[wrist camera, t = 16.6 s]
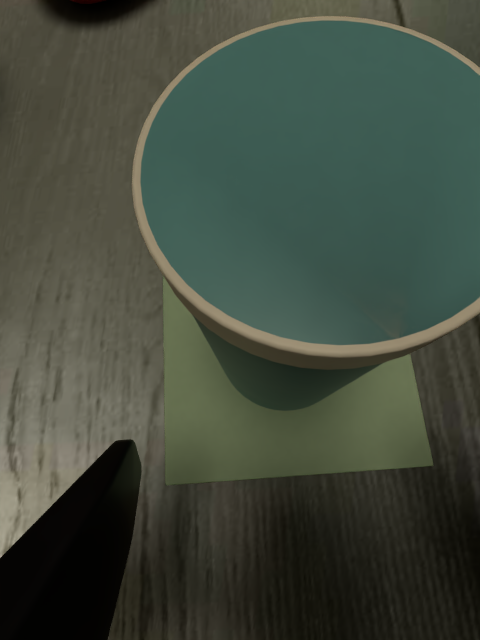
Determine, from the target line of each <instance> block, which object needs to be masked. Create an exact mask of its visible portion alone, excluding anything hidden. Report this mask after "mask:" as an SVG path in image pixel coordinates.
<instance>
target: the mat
mask: <svg viewBox="0 0 480 640" xmlns="http://www.w3.org/2000/svg"><path fill="white" fill-rule="evenodd" d="M163 336H164V416H165V485H180V484H193V483H207V482H221V481H234V480H248V479H262V478H275V477H289V476H303V475H316V474H330V473H344V472H357V471H371V470H385V469H398V468H412V467H426V466H433V460H432V456H431V451H430V446H429V441H428V437H427V432H426V427H425V422H424V418H423V413H422V408H421V404H420V399H419V394H418V389H417V385H416V380H415V375H414V371H413V366H412V361H411V356H410V354H408V355H406V356H403V357H400V358H397V359H394V360H390V361H387V362H384V363H383V364H381V365H379V366H378V367H376V368H374V369H373V370H371V371H369V372H368V373H366V374H364V375H363V376H361V377H359V378H358V379H356V380H354V381H353V382H351V383H349V384H347V385H346V386H344V387H342V388H341V389H339V390H337V391H336V392H334V393H332V394H331V395H329V396H327V397H326V398H324V399H322V400H321V401H319V402H317V403H315V404H313V405H311V406H308V407H305V408H302V409H298V410H290V411H281V410H273V409H269V408H265V407H262V406H260V405H257V404H255V403H253V402H252V401H250V400H248V399H247V398H246V397H244V396H243V395H242V394H241V393H240V392H239V391H237V390H236V388H235V387H234V386H233V385H232V384H231V382H230V380H229V379H228V377H227V376H226V374H225V372H224V370H223V368H222V367H221V365H220V363H219V361H218V360H217V358H216V356H215V354H214V352H213V351H212V349H211V347H210V345H209V344H208V342H207V340H206V338H205V336H204V335H203V333H202V331H201V329H200V328H199V326H198V324H197V322H196V320H195V319H194V317H193V315H192V314H191V313H190V312H189V311H188V309H187V308H186V307H185V306H184V305H183V304H182V302H181V301H180V300H179V299H178V298H177V296H176V295H175V294H174V292H173V290H172V289H171V287H170V286H169V284H168V282H167V281H166V279H165V278H164V276H163Z"/></svg>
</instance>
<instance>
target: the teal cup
mask: <svg viewBox="0 0 480 640" xmlns="http://www.w3.org/2000/svg"><path fill="white" fill-rule="evenodd" d="M132 194H133V203H134V210H135V214H136V218H137V222H138V226H139V230H140V232H141V235H142V237H143V239H144V242H145V244H146V246H147V248H148V251H149V253H150V254H151V256H152V258H153V259H154V261H155V263H156V264H157V266H158V268H159V269H160V271H161V273H162V274H163V276H164V278H165V279H166V281H167V282H168V284H169V286H170V287H171V289H172V290H173V292H174V294H175V295H176V296H177V298H178V299H179V300H180V301H181V302H182V304H183V305H184V306H185V307H186V308H187V309H188V311H189V312H190V313H191V314H192V315H193V317H194V319H195V320H196V322H197V324H198V326H199V328H200V329H201V331H202V333H203V335H204V336H205V338H206V340H207V342H208V344H209V345H210V347H211V349H212V351H213V352H214V354H215V356H216V358H217V360H218V361H219V363H220V365H221V367H222V368H223V370H224V372H225V374H226V376H227V377H228V379H229V380H230V382H231V384H232V385H233V386H234V387H235V388H236V390H237V391H239V392H240V393H241V394H242V395H243V396H244V397H246V398H247V399H248V400H250V401H252V402H253V403H255V404H257V405H260V406H262V407H265V408H269V409H273V410H281V411H290V410H298V409H302V408H305V407H308V406H311V405H313V404H315V403H317V402H319V401H321V400H322V399H324V398H326V397H327V396H329V395H331V394H332V393H334V392H336V391H337V390H339V389H341V388H342V387H344V386H346V385H347V384H349V383H351V382H353V381H354V380H356V379H358V378H359V377H361V376H363V375H364V374H366V373H368V372H369V371H371V370H373V369H374V368H376V367H378V366H379V365H381V364H383V363H384V362H387V361H390V360H394V359H397V358H400V357H403V356H406V355H408V354H410V353H412V352H414V351H416V350H418V349H420V348H422V347H424V346H426V345H428V344H430V343H432V342H434V341H436V340H437V339H439V338H441V337H443V336H445V335H447V334H448V333H450V332H452V331H454V330H456V329H457V328H459V327H460V326H462V325H463V324H465V323H466V322H468V321H469V320H471V319H472V318H474V317H475V316H476V315H478V314H479V313H480V68H479V67H478V66H477V65H476V64H474V63H473V62H472V61H470V60H469V59H467V58H466V57H464V56H463V55H461V54H460V53H458V52H457V51H456V50H454V49H452V48H450V47H448V46H446V45H445V44H443V43H441V42H439V41H437V40H435V39H433V38H431V37H428V36H426V35H424V34H421V33H419V32H416V31H414V30H411V29H408V28H404V27H401V26H398V25H394V24H391V23H386V22H381V21H376V20H371V19H365V18H355V17H345V16H318V17H306V18H297V19H291V20H286V21H280V22H275V23H272V24H268V25H265V26H261V27H258V28H254V29H252V30H249V31H247V32H244V33H242V34H239V35H236V36H234V37H232V38H230V39H228V40H226V41H224V42H222V43H221V44H219V45H217V46H215V47H213V48H212V49H210V50H209V51H207V52H206V53H204V54H203V55H201V56H200V57H198V58H197V59H196V60H195V61H193V62H192V63H191V64H190V65H189V66H187V67H186V68H185V69H184V70H183V71H181V72H180V73H179V75H178V76H177V77H176V78H175V79H174V80H173V81H172V82H171V83H170V84H169V85H168V86H167V87H166V89H165V90H164V92H163V93H162V94H161V96H160V97H159V99H158V100H157V101H156V103H155V104H154V106H153V108H152V110H151V112H150V113H149V115H148V117H147V119H146V121H145V123H144V126H143V128H142V131H141V134H140V137H139V139H138V142H137V147H136V152H135V156H134V161H133V173H132Z"/></svg>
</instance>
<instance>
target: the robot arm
mask: <svg viewBox="0 0 480 640" xmlns="http://www.w3.org/2000/svg"><path fill="white" fill-rule="evenodd" d="M140 479H141V462H140V459H139V455H138V452H137V448H136V445H135V442H134V441H133V440H131V439H129V440H118V441H115V442H114V443H113V444H112V445H111V446H110V447H109V448H108V449H107V450H106V451H105V452H104V453H103V454H102V455H101V456H100V457H99V458H98V459H97V460H96V461H95V462H94V463H93V464H92V465H91V466H90V467H89V468H88V469H87V470H86V471H85V472H84V473H83V474H82V475H81V476H80V477H79V478H78V479H77V480H76V481H75V482H74V483H73V484H72V486H71V487H70V488H69V489H68V490H67V491H66V492H65V493H64V494H63V495H62V496H61V497H60V498H59V499H58V500H57V501H56V502H55V503H54V504H53V505H52V506H51V507H50V508H49V509H48V510H47V511H46V512H45V513H44V514H43V515H42V516H41V517H40V518H39V519H38V520H37V521H36V522H35V523H34V524H33V525H32V526H31V527H30V528H29V529H28V530H27V531H26V532H25V533H24V534H23V535H22V536H21V538H20V539H19V540H18V541H17V542H16V543H15V544H14V545H13V546H12V547H11V548H10V549H9V550H8V551H7V552H6V553H5V554H4V555H3V556H2V557H1V558H0V640H108V636H109V632H110V628H111V624H112V620H113V616H114V612H115V608H116V604H117V600H118V596H119V591H120V587H121V583H122V579H123V575H124V571H125V567H126V563H127V559H128V555H129V551H130V546H131V542H132V537H133V530H134V524H135V516H136V509H137V502H138V494H139V487H140Z"/></svg>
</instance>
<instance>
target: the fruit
mask: <svg viewBox="0 0 480 640" xmlns="http://www.w3.org/2000/svg"><path fill="white" fill-rule="evenodd" d="M70 1H73V2H77V3H81V4H90V3H97V2H102V1H106V0H70Z"/></svg>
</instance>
